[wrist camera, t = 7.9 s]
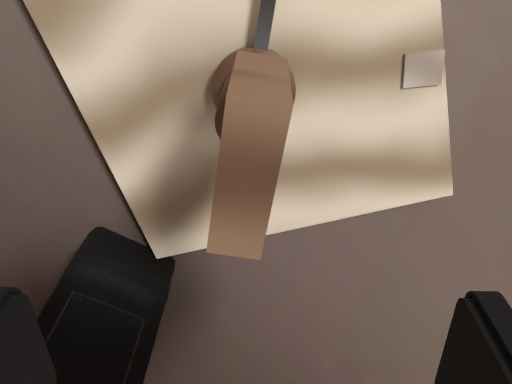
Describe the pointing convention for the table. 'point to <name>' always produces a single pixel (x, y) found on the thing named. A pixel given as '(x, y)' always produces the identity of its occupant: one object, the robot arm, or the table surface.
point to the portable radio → (106, 311)
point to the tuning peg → (249, 141)
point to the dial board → (303, 114)
